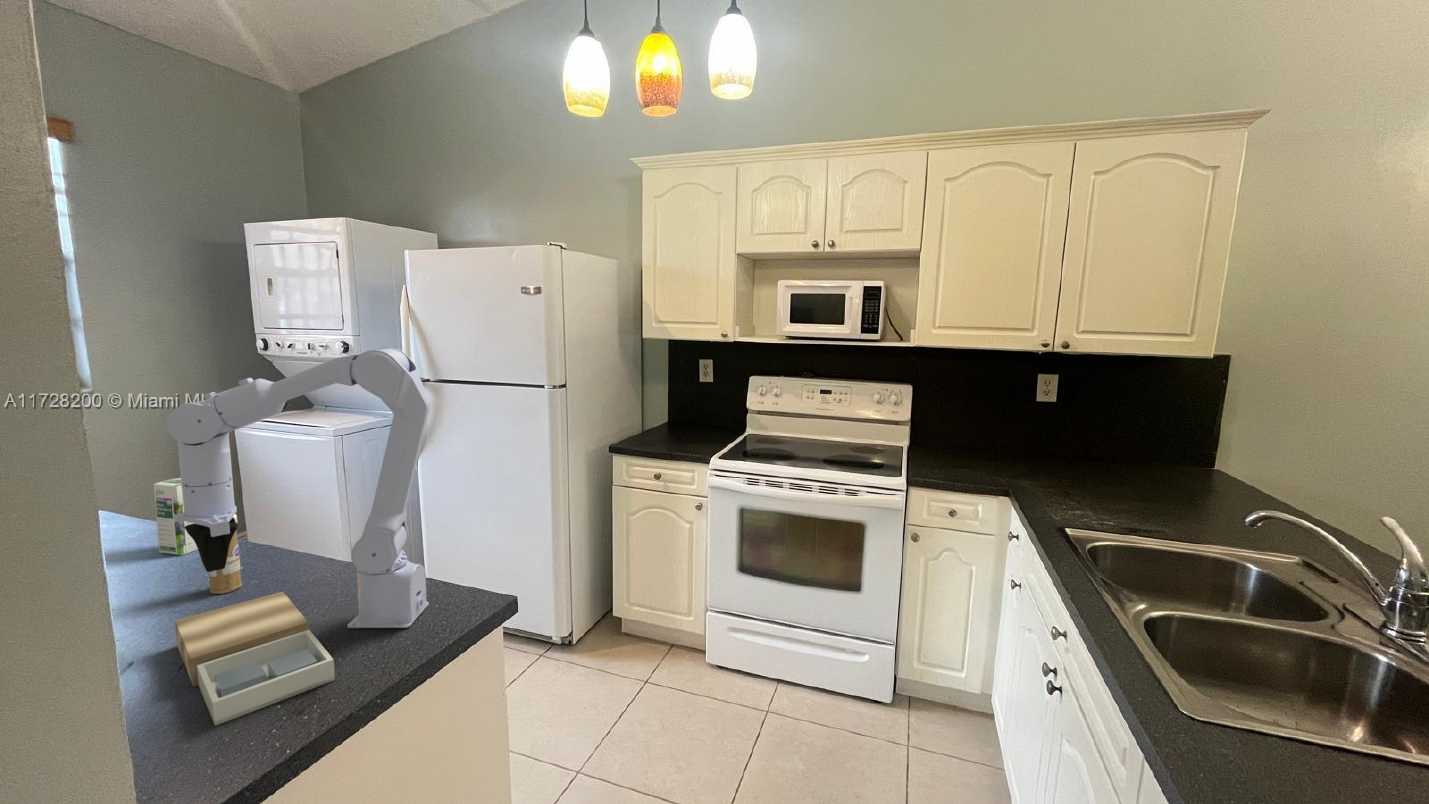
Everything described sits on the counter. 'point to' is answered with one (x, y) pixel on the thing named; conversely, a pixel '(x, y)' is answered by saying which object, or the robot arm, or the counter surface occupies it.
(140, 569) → the counter surface
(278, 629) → the maple bench
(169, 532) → the syrup box
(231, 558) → the sprinkles bottle
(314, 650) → the tray
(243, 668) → the slate tile
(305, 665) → the slate tile
